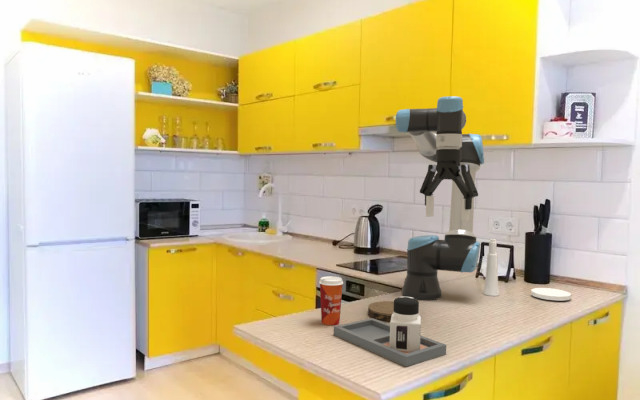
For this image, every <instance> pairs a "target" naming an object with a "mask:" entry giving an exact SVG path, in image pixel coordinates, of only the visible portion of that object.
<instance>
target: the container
mask: <svg viewBox="0 0 640 400" xmlns="http://www.w3.org/2000/svg"><path fill="white" fill-rule="evenodd" d="M393 301H394V311H393V314H392V316H391V321H390V322H389V324H390V347H391V348H393V349H396V350H398V351H403V352H414V351H417V350H420V335H421V333H422V330H421V327H422V322H421V321H422V318H421V315H419V313H420V312H419V310H420V309H419V308H420V302H419V299H415V298H412V297H405V296H399V297H396V298H394V299H393Z"/></svg>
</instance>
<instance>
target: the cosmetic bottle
mask: <svg viewBox="0 0 640 400" xmlns="http://www.w3.org/2000/svg"><path fill="white" fill-rule="evenodd" d="M497 243H498V242H497V239H495V238H490V239H489V242H488V253H487V257H486V259H487V260H486V269H485V270H486V271H485V280H484V286H483V292H482V294H483V295H484V296H489V297H497V296H500V291H499V276H498V274H499V272H498V266H499V265H498V253H497Z"/></svg>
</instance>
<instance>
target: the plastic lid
mask: <svg viewBox="0 0 640 400" xmlns="http://www.w3.org/2000/svg"><path fill="white" fill-rule="evenodd" d="M530 291H531V292H530V295H531V296H533V297H535V298H537V299H542V300H548V301H561V302H562V301H569V300H570V301H571V299H572V293H571V292H570V291H566V290H563V289H558V288H549V287H534V288H532V289H531V290H530Z"/></svg>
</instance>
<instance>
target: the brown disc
mask: <svg viewBox="0 0 640 400" xmlns="http://www.w3.org/2000/svg"><path fill="white" fill-rule="evenodd" d="M367 308H368V309H367V310H368V311H367V315H368V316H369V317H370V318H374V319H376V320H379V321H382V322H385V323H390V321H391V316H392V314H393V311H394V300H392V301H391V300H386V301H385V300H382V301H376V302H371V303H369V304H368V307H367Z"/></svg>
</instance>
